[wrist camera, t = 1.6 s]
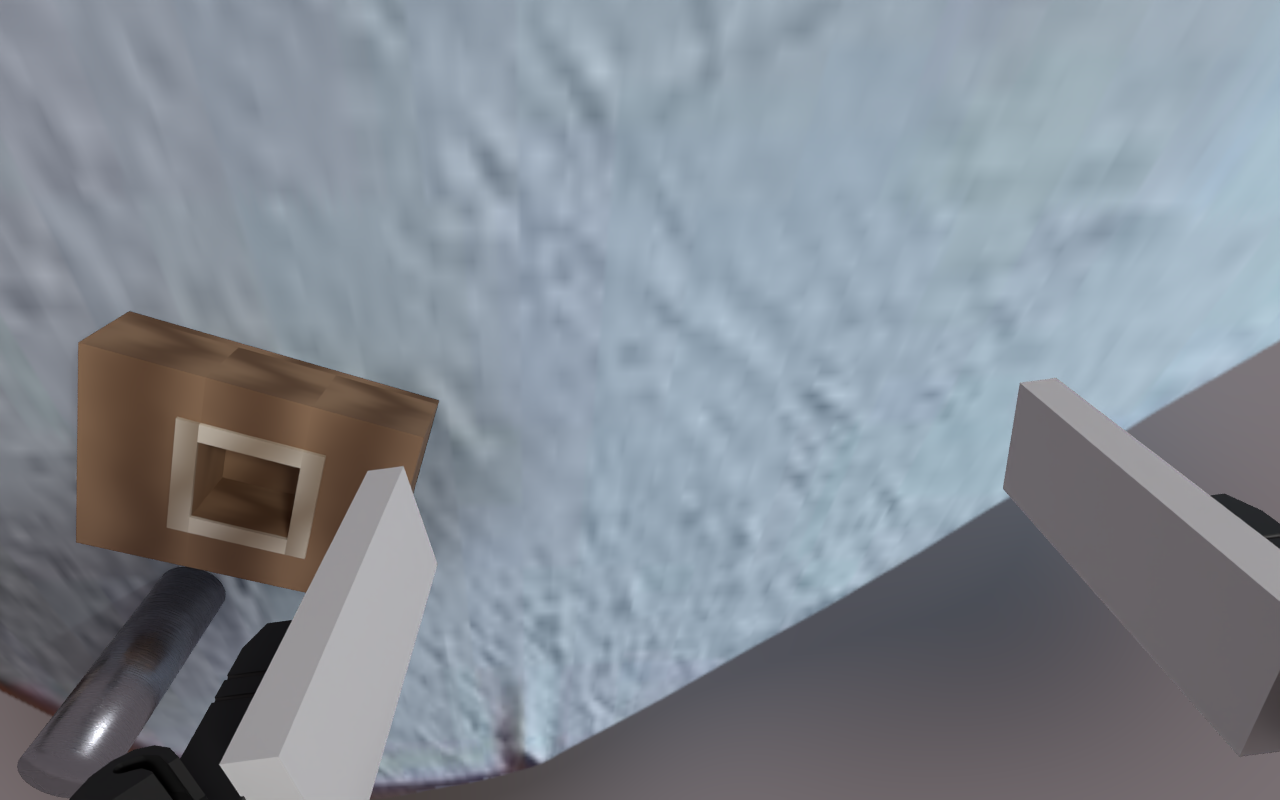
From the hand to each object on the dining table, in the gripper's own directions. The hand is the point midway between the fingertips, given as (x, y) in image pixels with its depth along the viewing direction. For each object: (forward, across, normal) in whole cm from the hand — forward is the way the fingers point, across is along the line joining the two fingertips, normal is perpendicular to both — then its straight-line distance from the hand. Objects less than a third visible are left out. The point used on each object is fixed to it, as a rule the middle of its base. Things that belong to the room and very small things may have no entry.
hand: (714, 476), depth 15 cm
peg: (+27, -36, -23) cm, 50 cm away
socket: (+27, -25, -13) cm, 39 cm away
